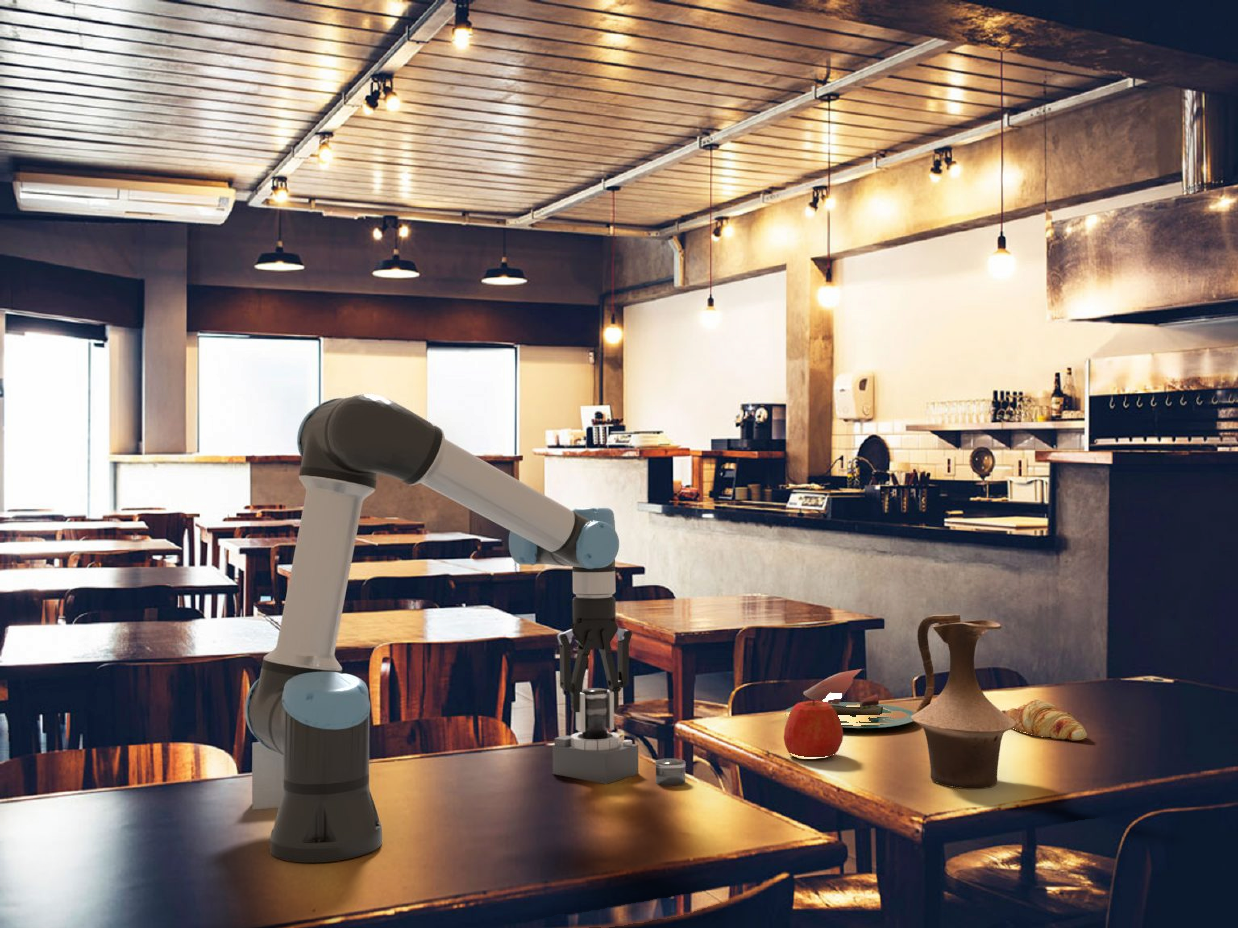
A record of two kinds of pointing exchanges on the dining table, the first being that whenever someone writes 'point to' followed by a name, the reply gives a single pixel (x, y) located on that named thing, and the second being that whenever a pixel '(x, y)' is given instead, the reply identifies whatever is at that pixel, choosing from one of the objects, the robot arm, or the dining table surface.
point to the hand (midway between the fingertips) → (595, 728)
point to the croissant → (1046, 721)
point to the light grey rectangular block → (266, 777)
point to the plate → (835, 690)
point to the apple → (813, 730)
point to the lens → (595, 713)
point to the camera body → (595, 758)
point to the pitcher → (960, 709)
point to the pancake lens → (670, 772)
